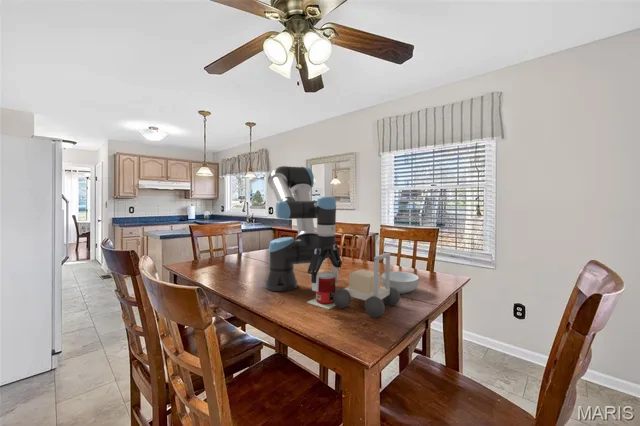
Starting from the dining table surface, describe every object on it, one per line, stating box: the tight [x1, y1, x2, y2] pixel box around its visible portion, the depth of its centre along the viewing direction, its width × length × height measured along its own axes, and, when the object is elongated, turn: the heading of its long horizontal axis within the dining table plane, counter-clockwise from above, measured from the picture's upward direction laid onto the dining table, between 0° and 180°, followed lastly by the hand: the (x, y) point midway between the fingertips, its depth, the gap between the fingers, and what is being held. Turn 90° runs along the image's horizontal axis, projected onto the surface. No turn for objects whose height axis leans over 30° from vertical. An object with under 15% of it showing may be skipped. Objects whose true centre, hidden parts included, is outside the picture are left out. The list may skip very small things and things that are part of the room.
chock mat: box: [306, 297, 338, 310], centre depth 114 cm, size 11×11×1 cm
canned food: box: [315, 271, 337, 304], centre depth 113 cm, size 8×8×11 cm
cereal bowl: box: [380, 270, 420, 295], centre depth 128 cm, size 17×17×7 cm
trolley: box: [333, 252, 401, 319], centre depth 109 cm, size 21×16×21 cm
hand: (325, 286), depth 114 cm, fingers open, 13 cm apart
